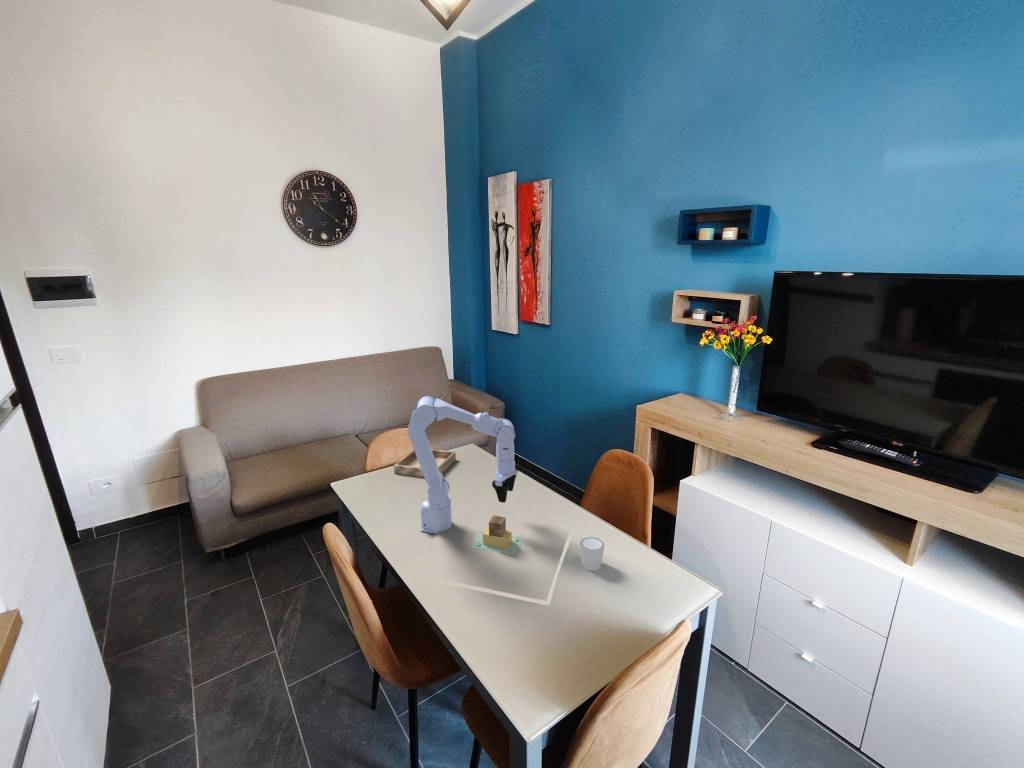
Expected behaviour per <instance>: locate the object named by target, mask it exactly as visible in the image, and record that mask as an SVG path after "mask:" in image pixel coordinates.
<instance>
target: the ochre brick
mask: <svg viewBox="0 0 1024 768" xmlns="http://www.w3.org/2000/svg"><path fill="white" fill-rule="evenodd" d="M483 531H484V533H483V544H485V545H491V546H496V547H502V548H507V549H508V547H509V545H510V543H511V542H512V536H513V534H512V533H513V532H512V530H508V529H506V531H505V532H504V534H503V536H502V537H496V536H490V535H489V526H487V527H486V528H485V530H483Z"/></svg>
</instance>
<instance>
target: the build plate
mask: <svg viewBox="0 0 1024 768" xmlns="http://www.w3.org/2000/svg"><path fill="white" fill-rule="evenodd" d="M484 531H485V530H481V531H480V532H479V534H478V535H477V537H476V538H475V540H474V541H473V543H472V545H471V547H470V548H473V549H477V550H478V549H479V550H483V551H489V552H494V553H499V554H506V555H511V556H516V554H517V552H518V550H519V547H520V546H521V544H522V542H523V540H524V537H518V536H513V535H512V542H511V543H510V545H509V547H508V549H507V548H502V547H496V546H491V545H485V544H483V533H484Z"/></svg>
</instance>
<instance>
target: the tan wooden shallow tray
mask: <svg viewBox="0 0 1024 768" xmlns="http://www.w3.org/2000/svg"><path fill="white" fill-rule="evenodd" d="M431 450H432V452H433V455H434V458H435V460H436V463H437V466H438V468H439V471H440V473H441V474H442V475H443V474H444V473H445V471H447V470H448V469H449V467H450V466H451V465H452V464H454V463H455V462H456V460H457V454H456V451H449V450H442V449H441V450H440V449H434V448H433V449H432V448H431ZM393 470H394V471H393V473H394V474H396V473H398V474H397V475H403V476H411V477H417V478H424V479H425V477H424V474H423V472H422V469H421V466H420V464H419V461H418V459H417V456H416V453H415V451H414V449H413V450H411V451H410V452H408V453H407V454H406V455H405V456H404V457H402V458H401V459H400V460H398V461H397V462H396V463H395V464H393Z"/></svg>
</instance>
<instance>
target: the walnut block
mask: <svg viewBox="0 0 1024 768" xmlns="http://www.w3.org/2000/svg"><path fill="white" fill-rule="evenodd" d="M506 524H507V523H506V516H499V515H495V514H493V515H492V517H490V520H489V521H488V527H489V535H490V536H496V537H502V536H503V534H504V532H505V531H506V530H507V529H506V528H507V527H506V526H507V525H506Z"/></svg>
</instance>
